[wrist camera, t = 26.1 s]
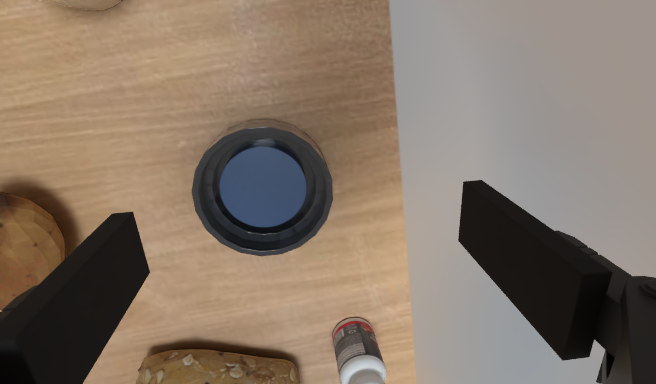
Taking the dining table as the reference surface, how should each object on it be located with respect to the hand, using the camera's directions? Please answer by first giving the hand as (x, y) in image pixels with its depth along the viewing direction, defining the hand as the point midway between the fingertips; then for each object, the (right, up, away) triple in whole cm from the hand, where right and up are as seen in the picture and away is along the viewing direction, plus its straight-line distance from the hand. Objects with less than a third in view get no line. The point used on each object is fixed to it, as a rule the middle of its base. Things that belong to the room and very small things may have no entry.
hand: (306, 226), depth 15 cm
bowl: (-6, +3, +25) cm, 26 cm away
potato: (-29, -3, +24) cm, 38 cm away
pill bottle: (+4, -17, +34) cm, 38 cm away
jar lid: (-6, +2, +23) cm, 24 cm away
